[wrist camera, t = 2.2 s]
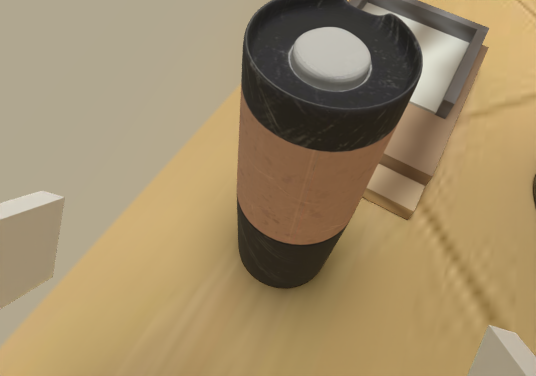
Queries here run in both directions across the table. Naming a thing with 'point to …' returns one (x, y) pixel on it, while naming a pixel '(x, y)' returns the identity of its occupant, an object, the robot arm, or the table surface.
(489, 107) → the table surface
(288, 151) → the travel mug
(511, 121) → the table surface
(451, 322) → the table surface
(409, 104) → the dock
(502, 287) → the table surface
